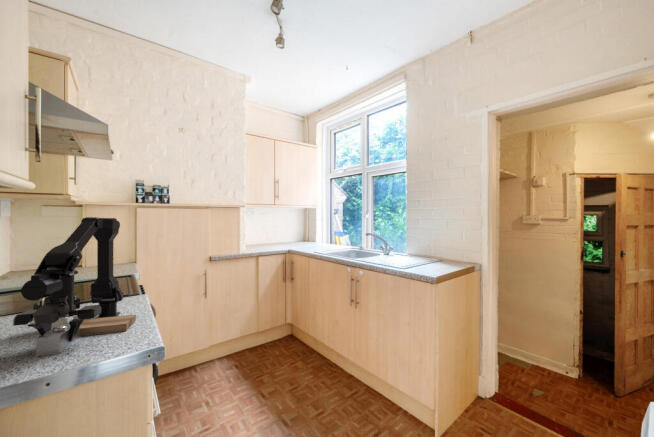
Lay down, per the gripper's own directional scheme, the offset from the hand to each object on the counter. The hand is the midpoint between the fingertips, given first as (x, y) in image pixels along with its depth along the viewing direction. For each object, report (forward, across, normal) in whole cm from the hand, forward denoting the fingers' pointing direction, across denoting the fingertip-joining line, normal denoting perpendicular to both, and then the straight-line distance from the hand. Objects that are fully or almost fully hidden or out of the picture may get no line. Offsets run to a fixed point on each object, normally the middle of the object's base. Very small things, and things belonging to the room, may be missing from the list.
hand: (59, 342), depth 81 cm
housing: (+1, 0, 0) cm, 1 cm away
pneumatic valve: (+1, -9, +18) cm, 20 cm away
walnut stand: (+1, +7, +12) cm, 14 cm away
